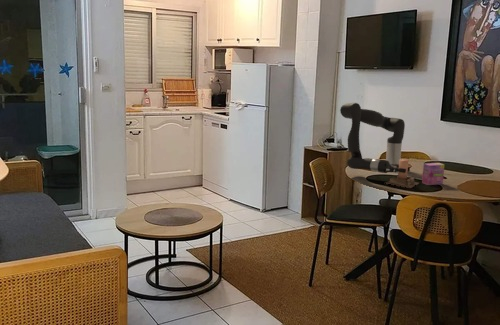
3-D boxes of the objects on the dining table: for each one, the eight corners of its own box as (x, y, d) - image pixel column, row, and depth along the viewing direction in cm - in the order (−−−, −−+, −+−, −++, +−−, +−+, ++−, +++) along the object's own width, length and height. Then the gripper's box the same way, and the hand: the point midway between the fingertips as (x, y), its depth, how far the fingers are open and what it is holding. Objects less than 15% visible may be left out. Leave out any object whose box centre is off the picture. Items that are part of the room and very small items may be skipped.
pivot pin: (399, 179, 290) (401, 159, 288) (408, 180, 287) (409, 160, 285) (396, 180, 286) (398, 160, 284) (404, 182, 283) (406, 161, 281)
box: (427, 185, 285) (429, 165, 283) (421, 183, 291) (423, 163, 288) (443, 184, 288) (445, 164, 286) (436, 182, 293) (438, 162, 291)
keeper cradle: (394, 179, 297) (394, 173, 296) (419, 183, 288) (419, 177, 287) (384, 183, 286) (385, 177, 286) (410, 188, 277) (410, 182, 277)
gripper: (375, 161, 288) (403, 165, 278) (385, 158, 299) (413, 162, 289) (374, 174, 290) (402, 178, 279) (384, 170, 300) (411, 174, 290)
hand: (407, 170), depth 284 cm, fingers closed on pivot pin, 5 cm apart
